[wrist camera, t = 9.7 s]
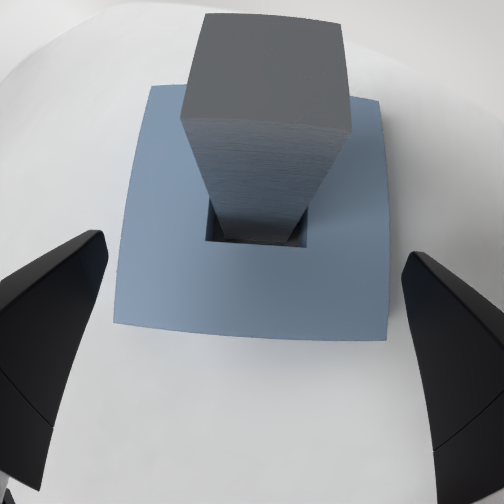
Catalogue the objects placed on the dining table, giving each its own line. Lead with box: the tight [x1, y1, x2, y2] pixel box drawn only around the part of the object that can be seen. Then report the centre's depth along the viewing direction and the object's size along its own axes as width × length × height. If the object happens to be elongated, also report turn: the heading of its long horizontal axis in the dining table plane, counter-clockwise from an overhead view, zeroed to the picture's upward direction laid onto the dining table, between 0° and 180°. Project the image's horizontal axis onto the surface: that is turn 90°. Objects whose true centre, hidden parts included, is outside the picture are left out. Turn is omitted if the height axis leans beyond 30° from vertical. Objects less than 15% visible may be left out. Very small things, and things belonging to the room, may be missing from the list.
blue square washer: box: [113, 84, 390, 341], centre depth 18 cm, size 14×14×3 cm
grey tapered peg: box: [180, 13, 352, 243], centre depth 13 cm, size 4×4×13 cm
